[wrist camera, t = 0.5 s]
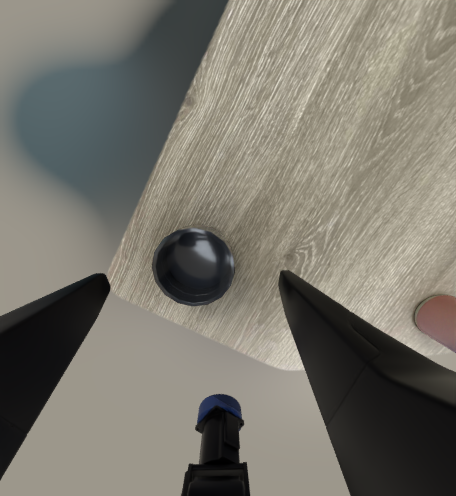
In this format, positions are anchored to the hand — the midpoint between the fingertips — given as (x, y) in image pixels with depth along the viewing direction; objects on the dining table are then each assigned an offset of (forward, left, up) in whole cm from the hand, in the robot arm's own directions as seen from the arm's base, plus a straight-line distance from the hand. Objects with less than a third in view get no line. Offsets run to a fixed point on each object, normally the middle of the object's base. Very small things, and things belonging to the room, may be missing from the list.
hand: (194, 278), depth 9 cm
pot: (-3, 0, -13) cm, 13 cm away
